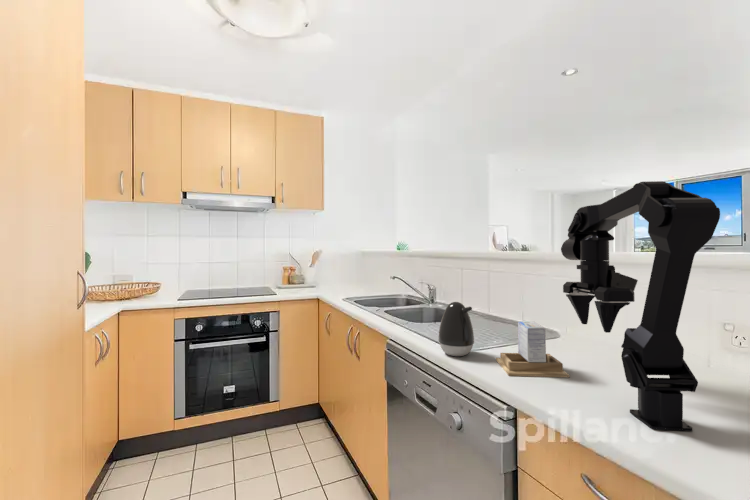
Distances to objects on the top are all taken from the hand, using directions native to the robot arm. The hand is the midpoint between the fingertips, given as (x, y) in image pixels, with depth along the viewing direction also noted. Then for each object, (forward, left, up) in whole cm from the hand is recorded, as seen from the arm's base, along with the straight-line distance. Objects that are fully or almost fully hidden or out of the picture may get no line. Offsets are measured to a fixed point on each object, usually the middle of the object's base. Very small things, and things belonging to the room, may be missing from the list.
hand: (595, 328), depth 82 cm
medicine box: (+7, +12, -10) cm, 17 cm away
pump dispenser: (+18, +29, -12) cm, 37 cm away
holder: (+7, +12, -12) cm, 19 cm away
